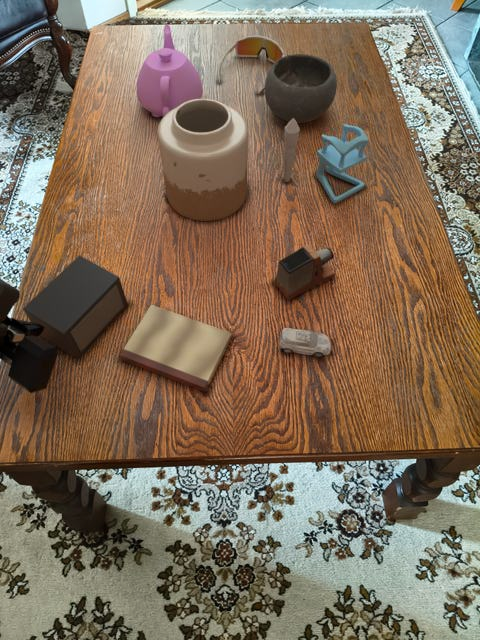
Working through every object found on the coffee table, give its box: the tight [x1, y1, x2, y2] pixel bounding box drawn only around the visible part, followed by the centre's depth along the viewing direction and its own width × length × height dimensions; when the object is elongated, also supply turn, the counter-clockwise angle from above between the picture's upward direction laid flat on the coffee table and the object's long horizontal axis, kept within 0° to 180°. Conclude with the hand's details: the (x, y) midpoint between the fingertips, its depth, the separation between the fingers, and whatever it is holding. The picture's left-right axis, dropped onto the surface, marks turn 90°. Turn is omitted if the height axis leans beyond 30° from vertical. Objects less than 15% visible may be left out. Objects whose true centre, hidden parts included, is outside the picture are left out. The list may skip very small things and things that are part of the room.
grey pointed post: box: [283, 118, 301, 183], centre depth 93 cm, size 2×3×14 cm
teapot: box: [136, 24, 204, 118], centre depth 107 cm, size 20×14×12 cm
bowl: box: [264, 53, 338, 124], centre depth 106 cm, size 15×15×10 cm
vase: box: [157, 98, 249, 222], centre depth 90 cm, size 15×15×17 cm
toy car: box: [279, 327, 332, 358], centre depth 77 cm, size 4×8×3 cm, turn 82°
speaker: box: [22, 254, 129, 361], centre depth 78 cm, size 12×8×8 cm
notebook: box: [118, 304, 233, 393], centre depth 77 cm, size 14×10×2 cm
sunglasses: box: [218, 34, 286, 95], centre depth 118 cm, size 14×15×5 cm
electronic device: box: [274, 243, 336, 301], centre depth 82 cm, size 4×10×8 cm, turn 121°
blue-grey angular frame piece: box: [315, 123, 370, 204], centre depth 93 cm, size 8×8×12 cm
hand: (41, 328), depth 72 cm, fingers closed
